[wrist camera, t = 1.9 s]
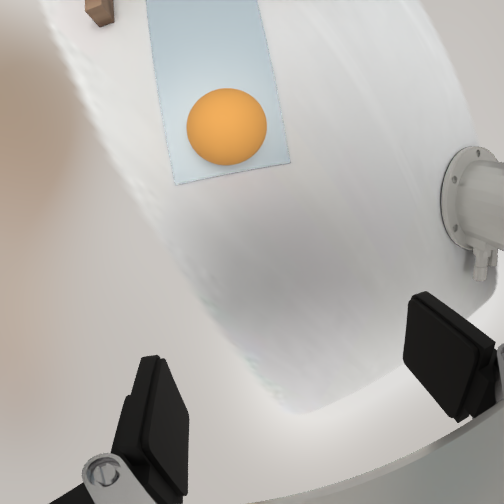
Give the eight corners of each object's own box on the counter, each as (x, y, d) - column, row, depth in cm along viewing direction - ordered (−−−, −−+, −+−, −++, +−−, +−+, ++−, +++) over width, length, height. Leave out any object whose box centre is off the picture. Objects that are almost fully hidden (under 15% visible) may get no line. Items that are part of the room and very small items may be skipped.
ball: (266, 158, 25) (281, 157, 20) (196, 171, 25) (191, 174, 19) (253, 92, 24) (265, 73, 18) (184, 104, 23) (175, 88, 17)
